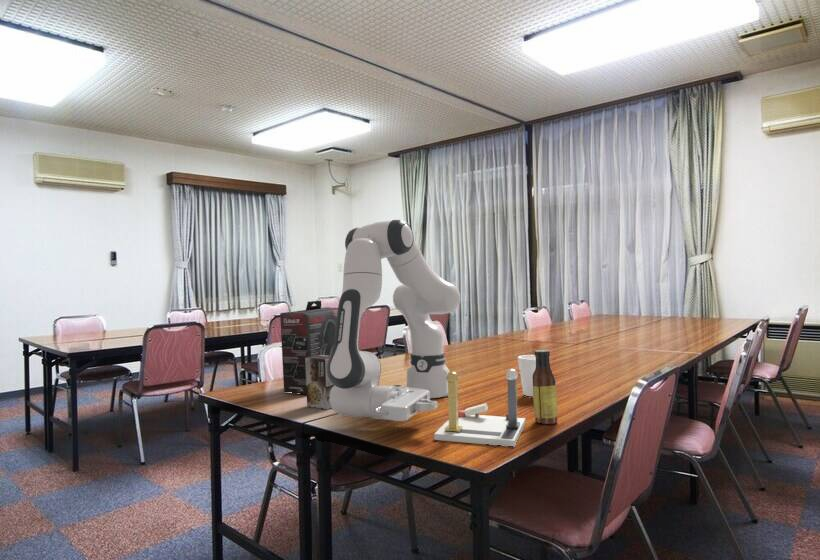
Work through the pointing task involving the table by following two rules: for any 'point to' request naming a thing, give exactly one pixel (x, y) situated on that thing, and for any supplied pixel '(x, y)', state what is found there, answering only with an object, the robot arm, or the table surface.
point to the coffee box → (318, 382)
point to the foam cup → (527, 372)
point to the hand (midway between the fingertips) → (436, 406)
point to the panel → (482, 430)
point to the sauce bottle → (544, 390)
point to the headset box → (305, 341)
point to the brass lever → (453, 402)
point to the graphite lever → (512, 398)
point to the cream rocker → (476, 409)
